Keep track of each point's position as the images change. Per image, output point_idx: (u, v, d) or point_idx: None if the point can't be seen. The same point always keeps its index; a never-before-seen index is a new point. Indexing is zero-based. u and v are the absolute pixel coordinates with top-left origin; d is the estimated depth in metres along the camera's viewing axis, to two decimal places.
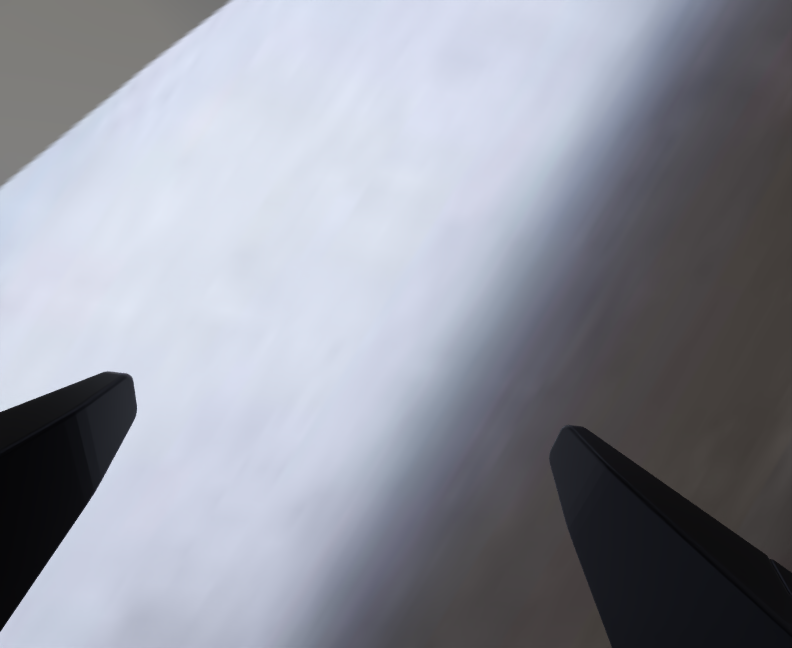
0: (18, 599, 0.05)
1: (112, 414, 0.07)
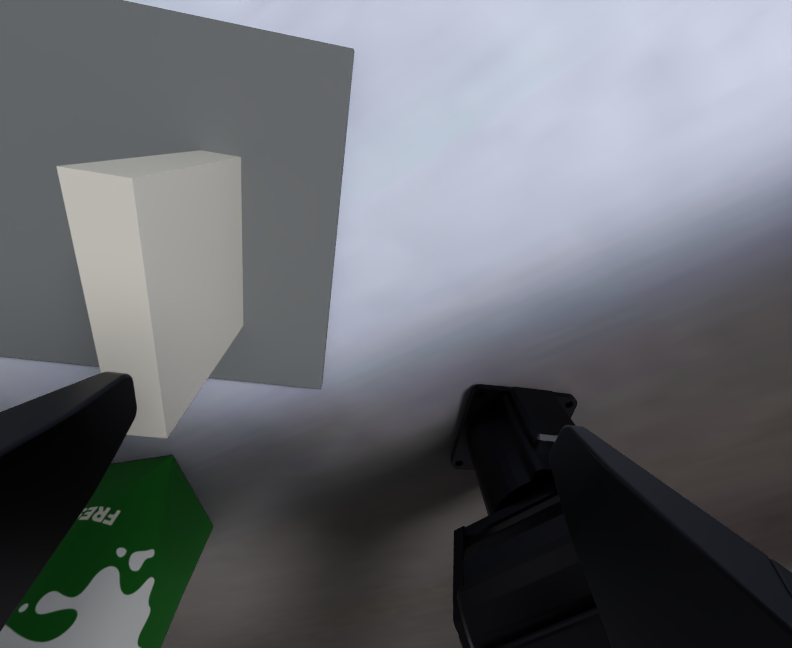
0: (18, 598, 0.05)
1: (112, 414, 0.07)
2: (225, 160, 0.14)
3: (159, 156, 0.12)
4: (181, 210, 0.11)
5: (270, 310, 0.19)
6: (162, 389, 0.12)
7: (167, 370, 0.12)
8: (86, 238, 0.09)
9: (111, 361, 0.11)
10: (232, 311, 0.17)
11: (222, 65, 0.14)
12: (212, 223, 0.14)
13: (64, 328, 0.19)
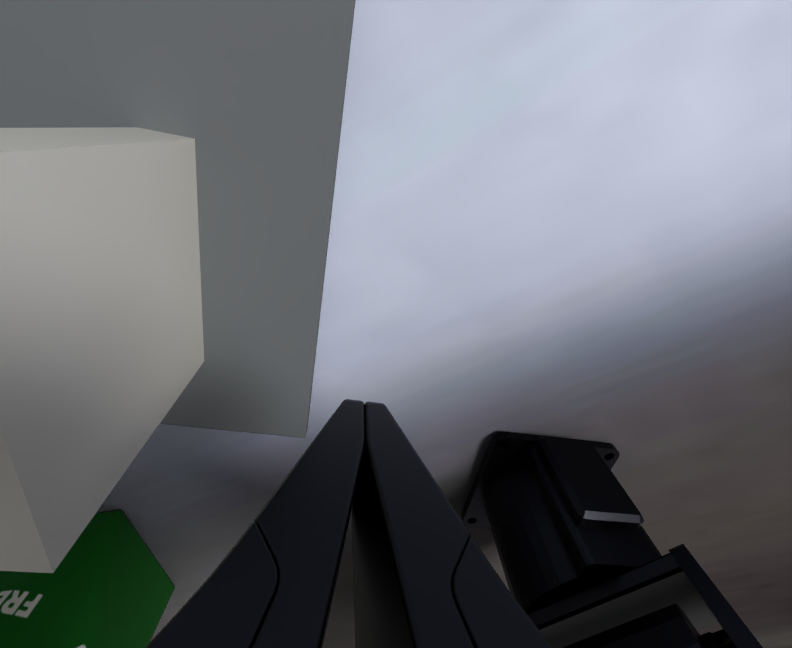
0: None
1: None
2: (165, 141, 0.10)
3: (46, 129, 0.08)
4: (65, 217, 0.07)
5: (239, 342, 0.15)
6: (35, 507, 0.07)
7: (47, 475, 0.07)
8: None
9: None
10: (184, 348, 0.13)
11: (163, 2, 0.10)
12: (140, 234, 0.09)
13: None
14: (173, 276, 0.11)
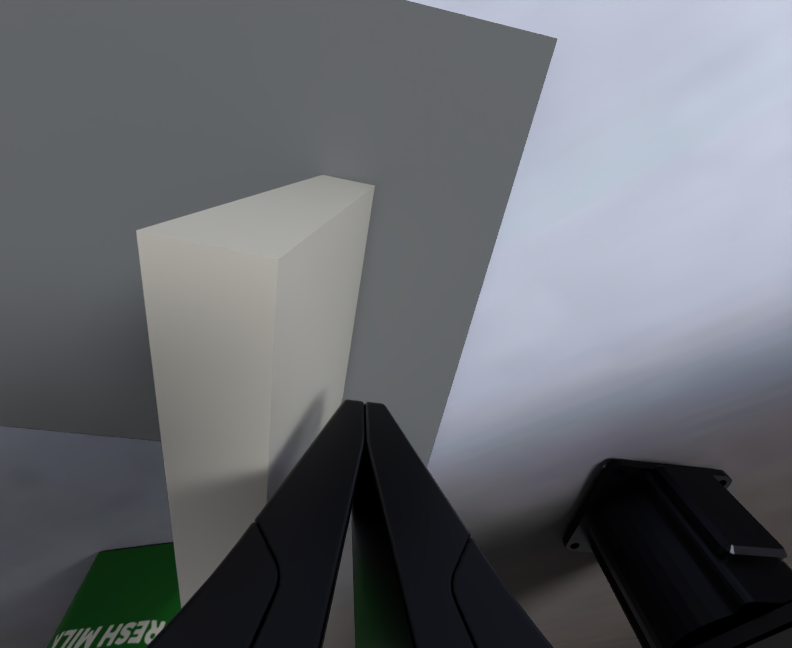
0: None
1: None
2: (364, 193, 0.10)
3: (285, 190, 0.08)
4: (321, 285, 0.07)
5: (380, 376, 0.15)
6: None
7: None
8: (176, 359, 0.05)
9: (192, 535, 0.06)
10: (338, 389, 0.13)
11: (370, 58, 0.10)
12: (342, 287, 0.09)
13: (113, 396, 0.15)
14: (346, 321, 0.11)
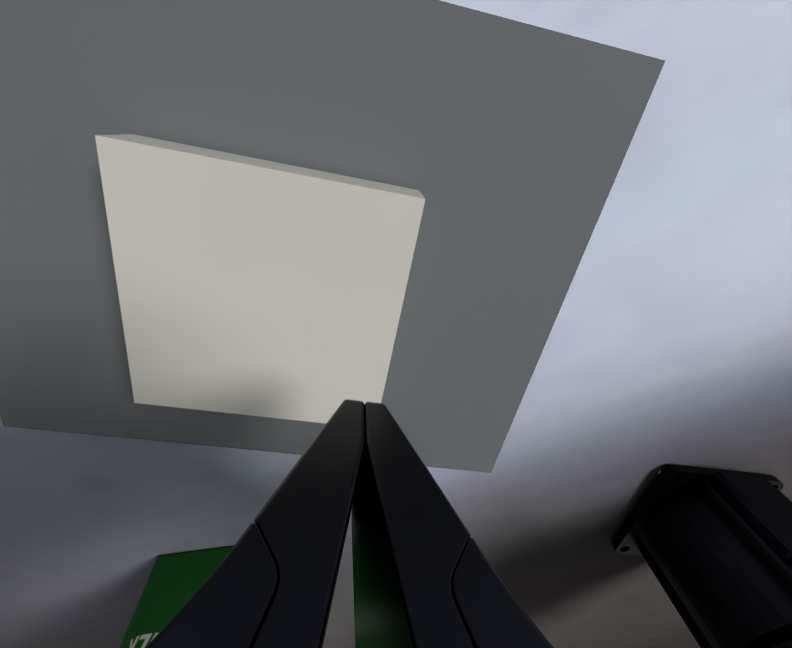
0: None
1: None
2: (356, 186, 0.10)
3: (287, 165, 0.11)
4: (197, 202, 0.10)
5: (456, 384, 0.15)
6: (131, 355, 0.12)
7: (143, 345, 0.11)
8: None
9: None
10: (336, 389, 0.13)
11: (483, 78, 0.10)
12: (288, 251, 0.10)
13: None
14: (334, 313, 0.11)
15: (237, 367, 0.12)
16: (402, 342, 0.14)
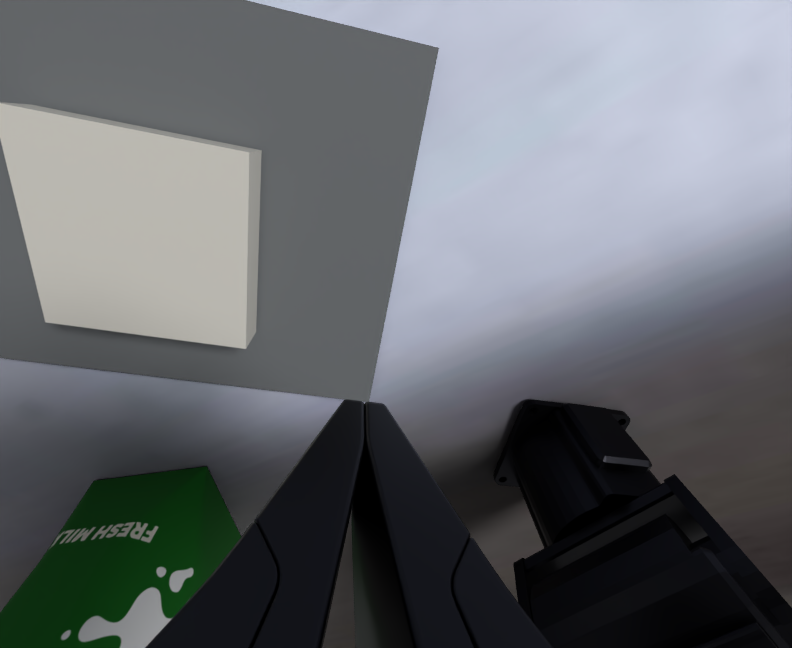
0: (329, 612, 0.06)
1: None
2: (194, 142, 0.13)
3: (152, 129, 0.14)
4: (74, 154, 0.13)
5: (323, 319, 0.18)
6: (37, 280, 0.15)
7: (47, 272, 0.15)
8: None
9: None
10: (207, 312, 0.16)
11: (298, 61, 0.14)
12: (149, 194, 0.14)
13: (106, 334, 0.18)
14: (195, 246, 0.15)
15: (124, 292, 0.15)
16: (272, 281, 0.17)
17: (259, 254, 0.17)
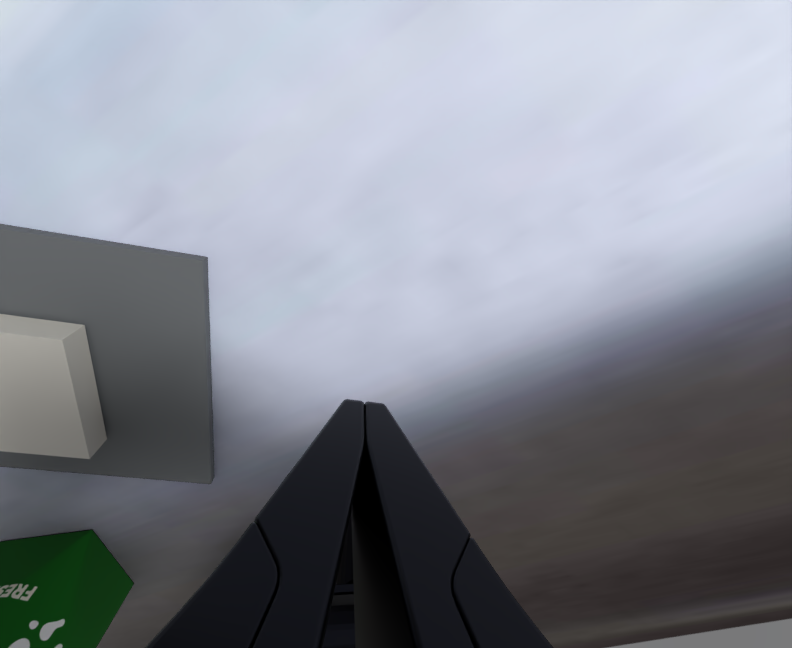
0: (330, 612, 0.06)
1: None
2: (20, 335, 0.18)
3: None
4: None
5: (160, 429, 0.23)
6: None
7: None
8: None
9: None
10: (54, 436, 0.21)
11: (101, 270, 0.19)
12: None
13: None
14: (35, 395, 0.20)
15: None
16: (113, 404, 0.22)
17: (99, 387, 0.22)
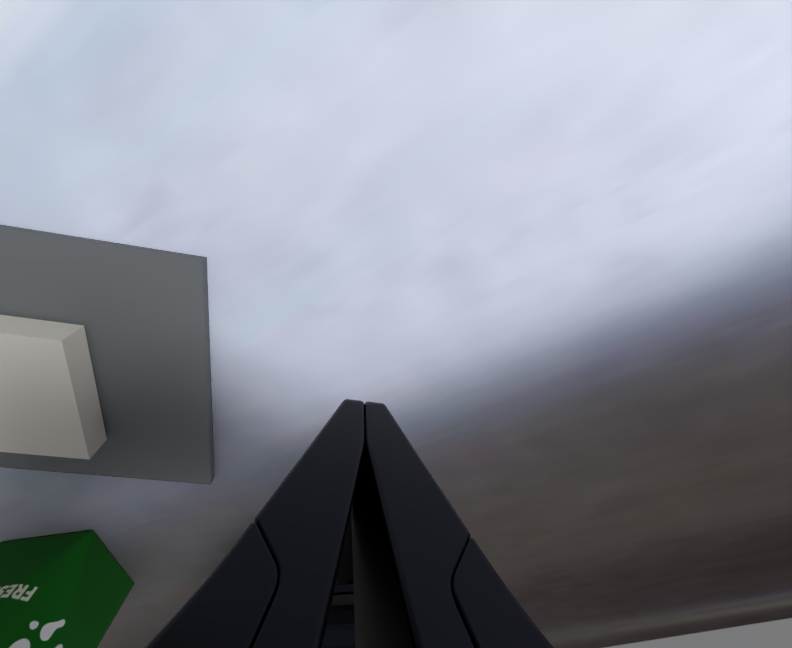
0: None
1: None
2: (20, 335, 0.18)
3: None
4: None
5: (160, 429, 0.23)
6: None
7: None
8: None
9: None
10: (54, 437, 0.21)
11: (100, 271, 0.19)
12: None
13: None
14: (34, 396, 0.20)
15: None
16: (113, 405, 0.22)
17: (99, 388, 0.22)
